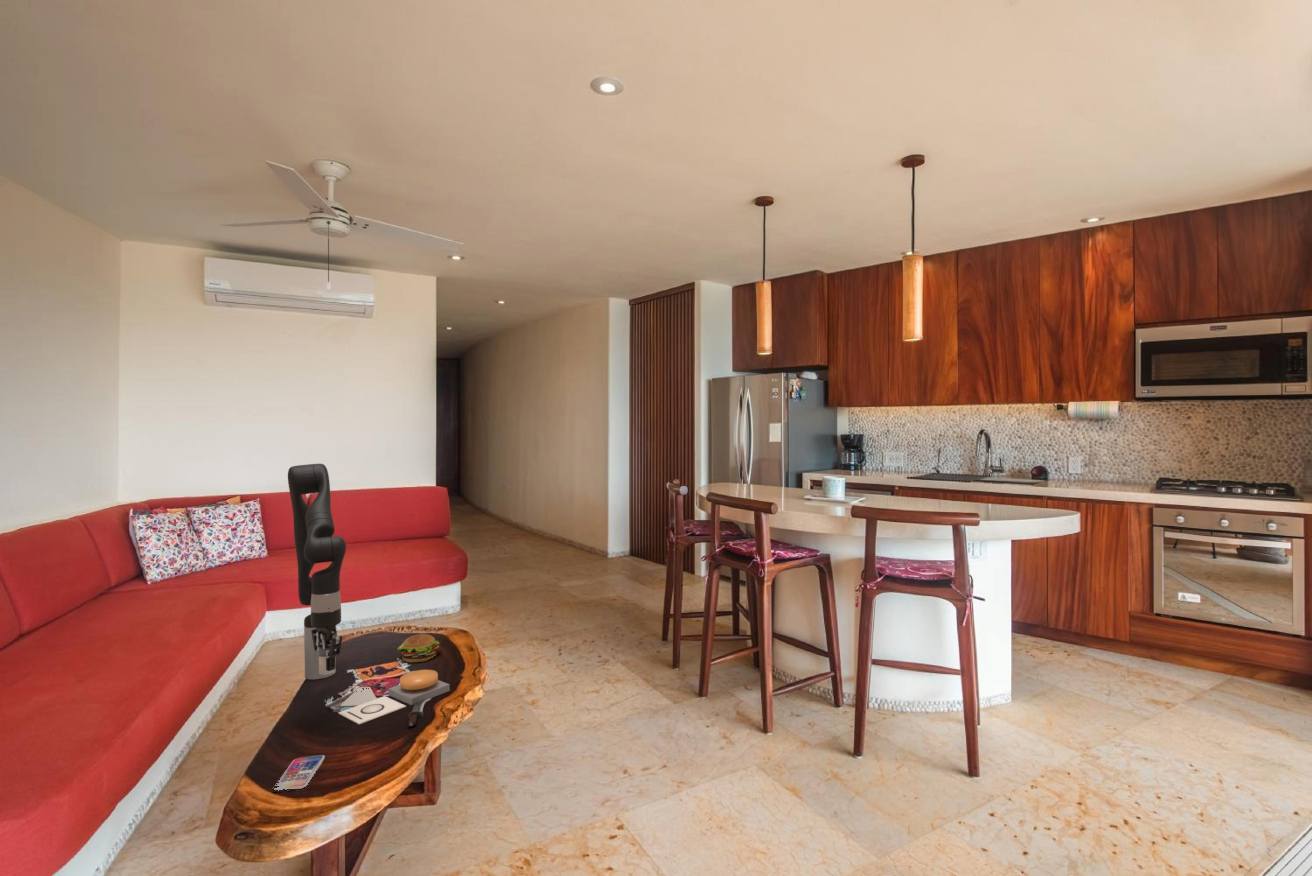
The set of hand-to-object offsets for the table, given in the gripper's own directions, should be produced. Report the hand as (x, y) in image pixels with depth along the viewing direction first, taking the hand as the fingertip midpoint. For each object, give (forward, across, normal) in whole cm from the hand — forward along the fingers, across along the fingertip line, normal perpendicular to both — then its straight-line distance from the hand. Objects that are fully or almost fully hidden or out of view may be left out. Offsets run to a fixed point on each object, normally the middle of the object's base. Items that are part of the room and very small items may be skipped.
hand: (327, 668), depth 174 cm
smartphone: (+15, +24, -18) cm, 33 cm away
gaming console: (+16, -8, +15) cm, 23 cm away
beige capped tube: (+1, 0, 0) cm, 1 cm away
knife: (+15, +15, +20) cm, 29 cm away
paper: (+15, +4, +11) cm, 19 cm away
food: (+16, -26, +44) cm, 53 cm away
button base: (+15, +4, +26) cm, 30 cm away
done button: (+12, +4, +26) cm, 29 cm away
